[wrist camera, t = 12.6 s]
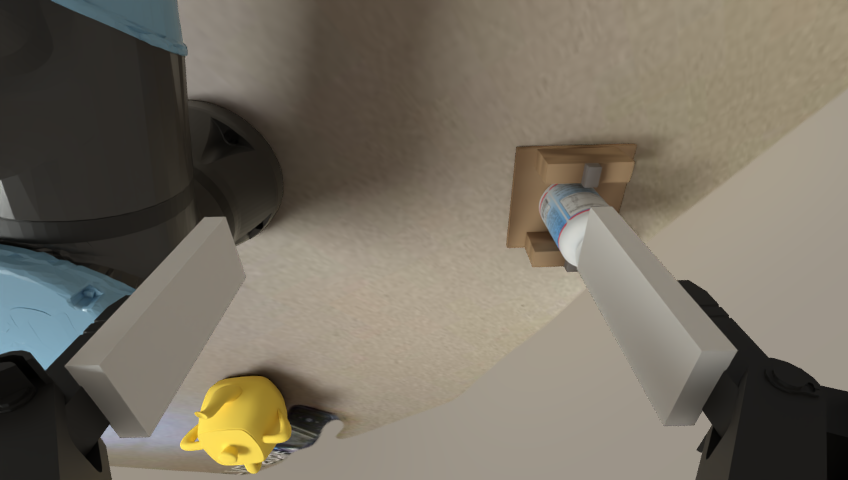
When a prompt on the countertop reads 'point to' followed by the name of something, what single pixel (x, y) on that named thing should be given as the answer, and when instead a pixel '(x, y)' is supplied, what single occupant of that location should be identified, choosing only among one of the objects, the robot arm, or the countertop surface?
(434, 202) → the countertop surface
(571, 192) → the pill bottle
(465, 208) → the countertop surface
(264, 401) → the teapot
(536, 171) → the clip stand
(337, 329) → the countertop surface
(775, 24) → the countertop surface
